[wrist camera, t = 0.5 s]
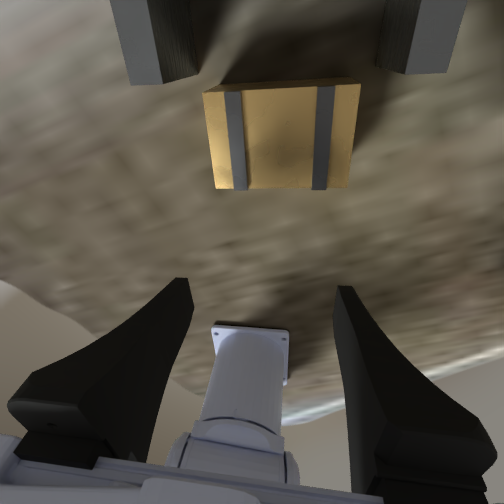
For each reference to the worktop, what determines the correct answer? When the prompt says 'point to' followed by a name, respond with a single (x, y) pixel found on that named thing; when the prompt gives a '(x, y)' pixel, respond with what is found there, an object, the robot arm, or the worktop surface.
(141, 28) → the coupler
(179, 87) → the worktop surface
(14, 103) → the worktop surface
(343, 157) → the block
